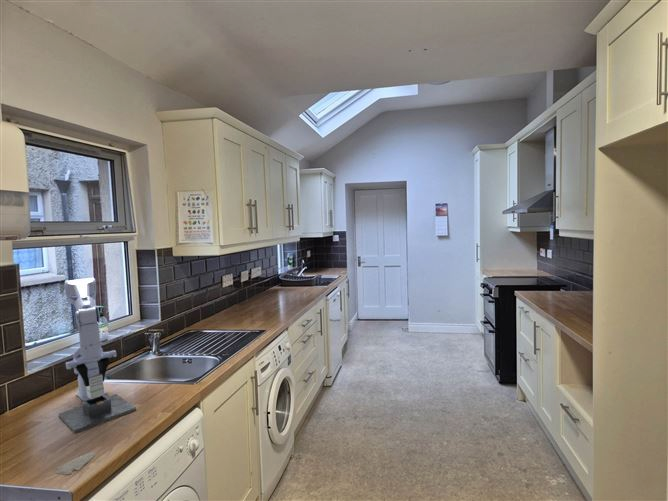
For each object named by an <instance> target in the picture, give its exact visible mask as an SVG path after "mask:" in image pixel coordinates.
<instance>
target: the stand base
mask: <svg viewBox="0 0 668 501" xmlns="http://www.w3.org/2000/svg"><path fill="white" fill-rule="evenodd" d="M81 403H82V405H80V406H76V407H73V408H70V409H68V410H67V409H66V410H65V411H62V412H58V417H59V418H60V419H61V420H62V421H63V423H64V424H66V425H67V427H68V428H69V429H70V430H71V431H72V432H73V433H74V434H77V433H79V432H81V431H85V430H87V429H90V428H92V427H93V428H94V427H96V426H98V425H101V424H103V423H106V422H108V421H112V420H114V419H116V418H119V417H121V416H125V415H128V414H131V413H132V412H135V411H137V407H136V406H134V405H133V404H132V403H130V402H128V400H126V399H124V398H123V397H121V396H120V395H118V394H112V395H109V396H107V395H106V394H104V395H103V396H100V397H97V398H94V399H88V400H85V401H83V400H82V401H81Z"/></svg>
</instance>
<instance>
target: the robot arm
mask: <svg viewBox="0 0 668 501" xmlns="http://www.w3.org/2000/svg"><path fill="white" fill-rule="evenodd" d="M64 290H65V296H66V301H67V303H68V304H71V305H73V306H74V308H75V324H76V326H77V331H78V335H79V336H78V337H79V344H80V346H79V347H78V348H77V349H76V350H75V351H74V352H73V353H72V360H69V361H65V367H66V368H65V369H66V370H72V368H73V372H74V374H75V375H78V376H77V383H78V384H77V386H78V392H76V393H75V394H76V396H77V397H78V398H79V399H81V400H82V401H85V400H88V399H90V398H89V397H87V390H86V387H87V386H89V382H88V374H91V373H94V372H100V373H102V376H103V383H104V382H105V378H106V372H107V370H108V368H109V364H110V362H111V361H110V358H115V357H117V351H116V350H114V349H112V350H108V351H104V350H103V348H102V346H101V345H102V344H101V336H100V321H101V316H100V315H101V314H100V310H99V307H98V306H97V305H96V303H95V300H96V297H97V282H96V278H94V277H88V278H80V279H70V280H68V279H67V280H65V281H64ZM106 394H108V392H107V390H105V389H104V395H106Z"/></svg>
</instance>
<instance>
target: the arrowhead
mask: <svg viewBox="0 0 668 501" xmlns="http://www.w3.org/2000/svg"><path fill="white" fill-rule="evenodd" d="M95 456H96V451H90V452H89V453H86V454H83V455H79V456H78V457H75V458H74V459H72V460H70V461H69V462H65V463H64V464H63V465H61V466H59V467H57V468H56V469H55V472H54V474H56V475H61V474H62V475H65V476H69V475H72V473H73V472H75V471H79V470H82V468H84V466H85V465H86V464H87V463H88V462H90V461H91V460H92V459H93V458H94V457H95ZM56 470H57V471H56Z"/></svg>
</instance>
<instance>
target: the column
mask: <svg viewBox="0 0 668 501" xmlns="http://www.w3.org/2000/svg"><path fill="white" fill-rule="evenodd" d="M88 382H89V386H87V387H86V390H87V397H89V398H90V399H94V398H97V397H100V396H103V395H105V394H104V390H105V386H104V382H103V376H102V373H100V372H94V373H91V374H88Z"/></svg>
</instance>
